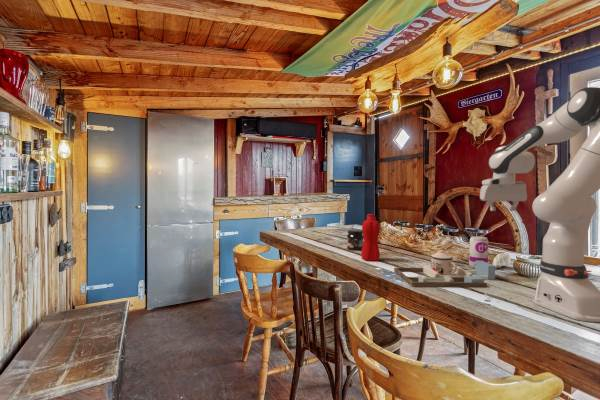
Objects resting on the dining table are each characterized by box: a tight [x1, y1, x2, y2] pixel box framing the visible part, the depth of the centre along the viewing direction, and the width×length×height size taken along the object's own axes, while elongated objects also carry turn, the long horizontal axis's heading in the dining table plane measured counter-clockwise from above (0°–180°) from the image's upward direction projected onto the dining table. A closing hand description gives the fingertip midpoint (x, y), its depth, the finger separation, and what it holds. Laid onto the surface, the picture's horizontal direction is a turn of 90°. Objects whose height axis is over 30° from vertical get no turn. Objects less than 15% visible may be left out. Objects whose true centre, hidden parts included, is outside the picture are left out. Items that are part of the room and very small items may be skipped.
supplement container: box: [346, 229, 364, 251], centre depth 203 cm, size 10×10×12 cm
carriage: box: [422, 261, 496, 281], centre depth 142 cm, size 14×27×6 cm, turn 90°
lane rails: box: [393, 267, 488, 288], centre depth 139 cm, size 24×30×2 cm
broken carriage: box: [417, 274, 485, 282], centre depth 131 cm, size 6×25×3 cm, turn 90°
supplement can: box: [468, 235, 490, 269], centre depth 159 cm, size 8×8×15 cm
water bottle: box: [360, 213, 383, 262], centre depth 173 cm, size 9×11×25 cm
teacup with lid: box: [430, 249, 457, 276], centre depth 141 cm, size 12×9×12 cm
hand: (502, 210), depth 148 cm, fingers open, 8 cm apart
